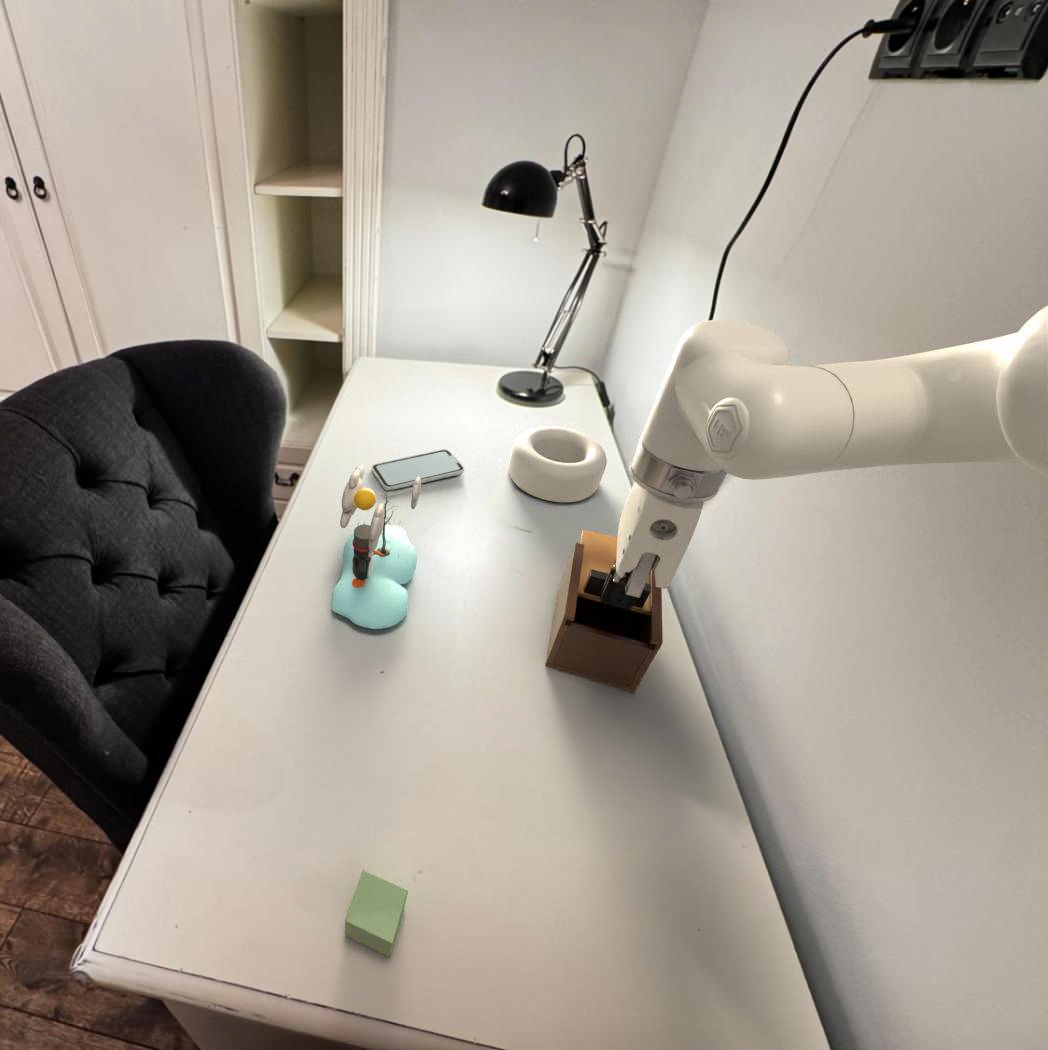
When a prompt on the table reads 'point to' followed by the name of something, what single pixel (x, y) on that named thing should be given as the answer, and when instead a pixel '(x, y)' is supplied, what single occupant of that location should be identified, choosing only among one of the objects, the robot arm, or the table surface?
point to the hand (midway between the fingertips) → (615, 601)
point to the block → (375, 913)
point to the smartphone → (417, 469)
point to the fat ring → (557, 464)
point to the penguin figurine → (374, 561)
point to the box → (602, 634)
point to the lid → (604, 569)
